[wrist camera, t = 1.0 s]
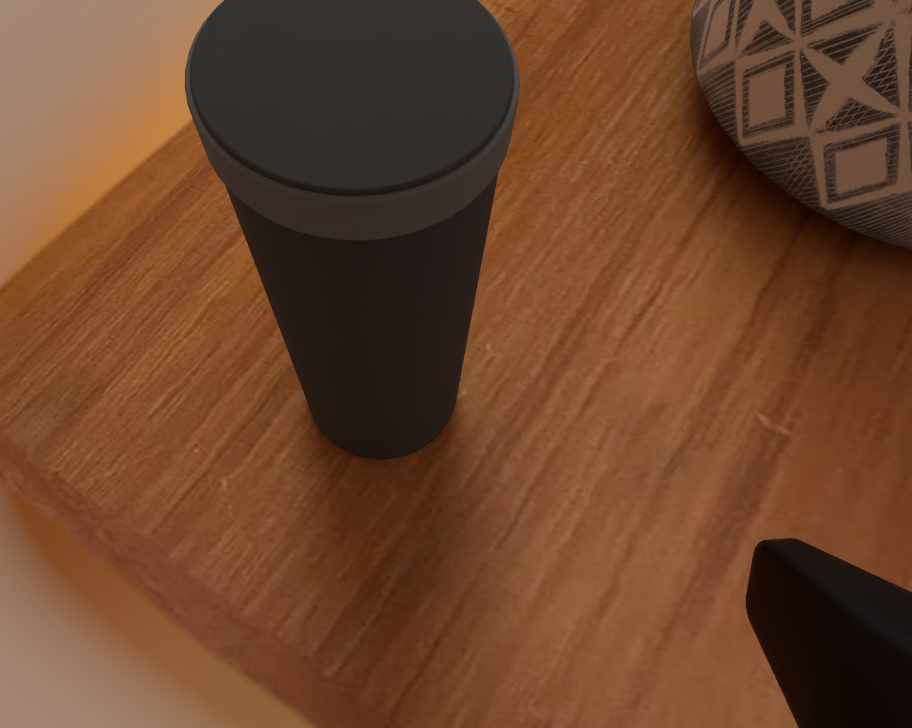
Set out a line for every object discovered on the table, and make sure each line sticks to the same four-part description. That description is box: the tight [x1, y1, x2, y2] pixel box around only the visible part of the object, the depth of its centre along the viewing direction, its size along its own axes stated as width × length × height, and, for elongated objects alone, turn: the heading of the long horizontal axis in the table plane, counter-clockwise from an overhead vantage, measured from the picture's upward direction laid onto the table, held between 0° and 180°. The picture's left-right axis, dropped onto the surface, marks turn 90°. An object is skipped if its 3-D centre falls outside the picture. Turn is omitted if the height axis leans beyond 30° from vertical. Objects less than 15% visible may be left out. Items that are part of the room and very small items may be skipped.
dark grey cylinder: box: [185, 0, 520, 459], centre depth 17 cm, size 5×5×14 cm
